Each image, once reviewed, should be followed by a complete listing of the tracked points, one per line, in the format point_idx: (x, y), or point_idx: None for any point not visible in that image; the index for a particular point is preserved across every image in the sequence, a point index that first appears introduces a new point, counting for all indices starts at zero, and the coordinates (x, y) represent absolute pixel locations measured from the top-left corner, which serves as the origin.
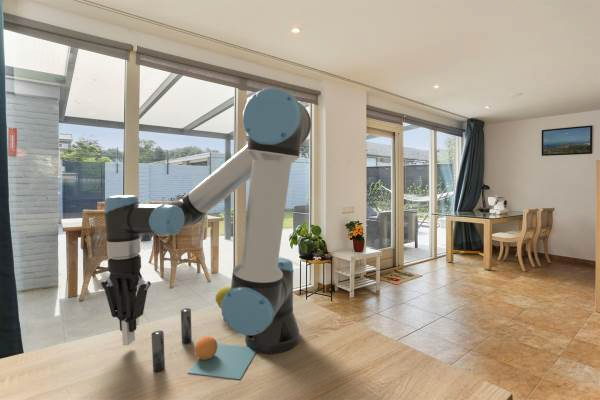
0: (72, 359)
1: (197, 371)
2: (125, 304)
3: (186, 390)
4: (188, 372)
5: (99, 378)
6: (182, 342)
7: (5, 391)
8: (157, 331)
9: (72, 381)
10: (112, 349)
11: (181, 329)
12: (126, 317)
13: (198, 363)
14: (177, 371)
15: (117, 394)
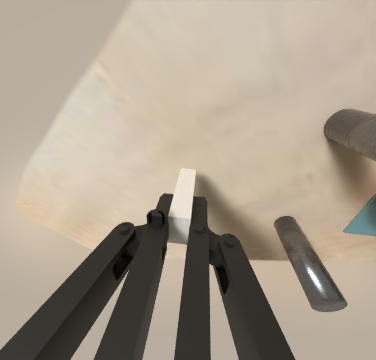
0: (107, 204)
1: (365, 230)
2: (154, 288)
3: (341, 257)
4: (346, 232)
5: None
6: (328, 137)
7: None
8: (327, 301)
9: None
10: (151, 173)
11: (357, 148)
12: (168, 227)
13: (370, 212)
14: (322, 226)
15: None
